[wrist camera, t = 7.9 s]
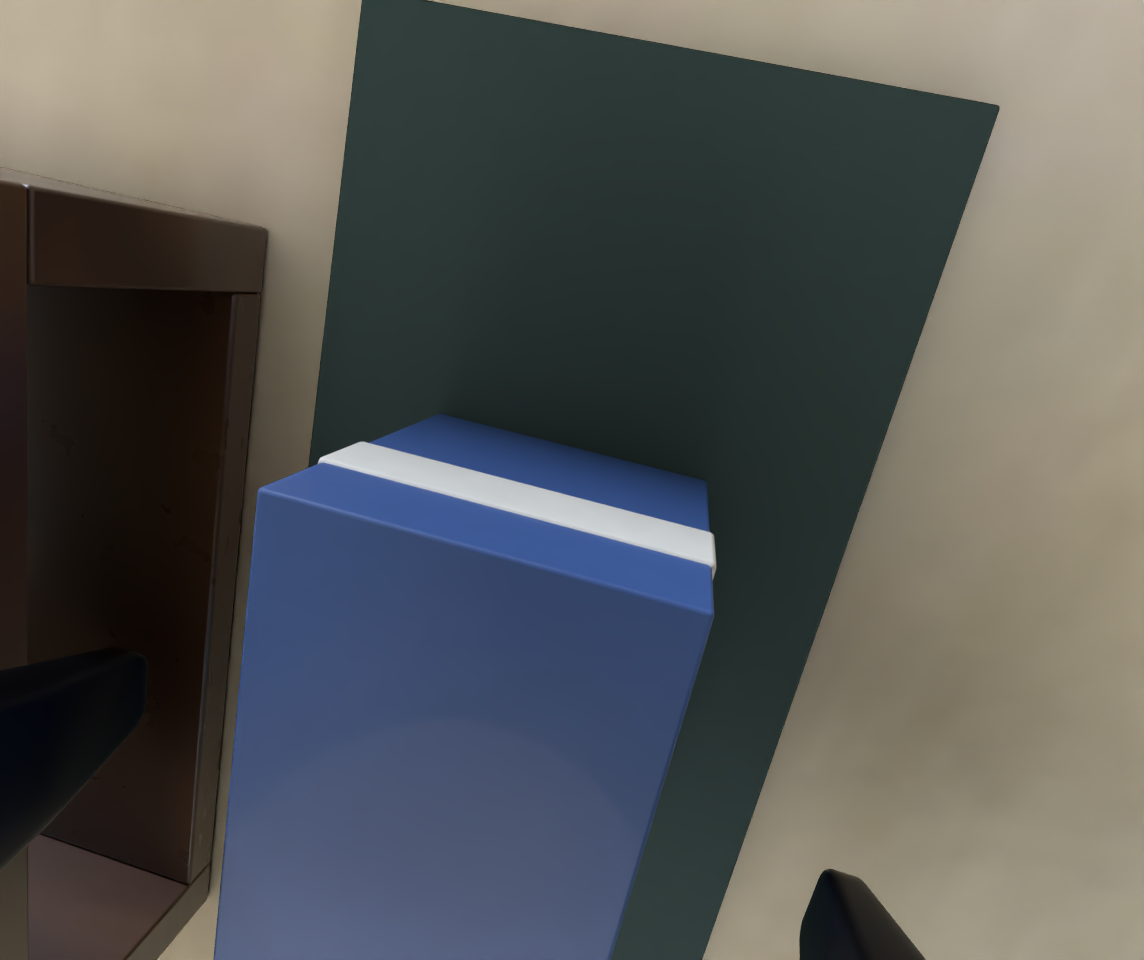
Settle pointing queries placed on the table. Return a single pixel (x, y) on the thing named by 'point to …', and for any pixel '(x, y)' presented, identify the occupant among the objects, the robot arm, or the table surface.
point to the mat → (650, 324)
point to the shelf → (123, 534)
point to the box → (458, 697)
